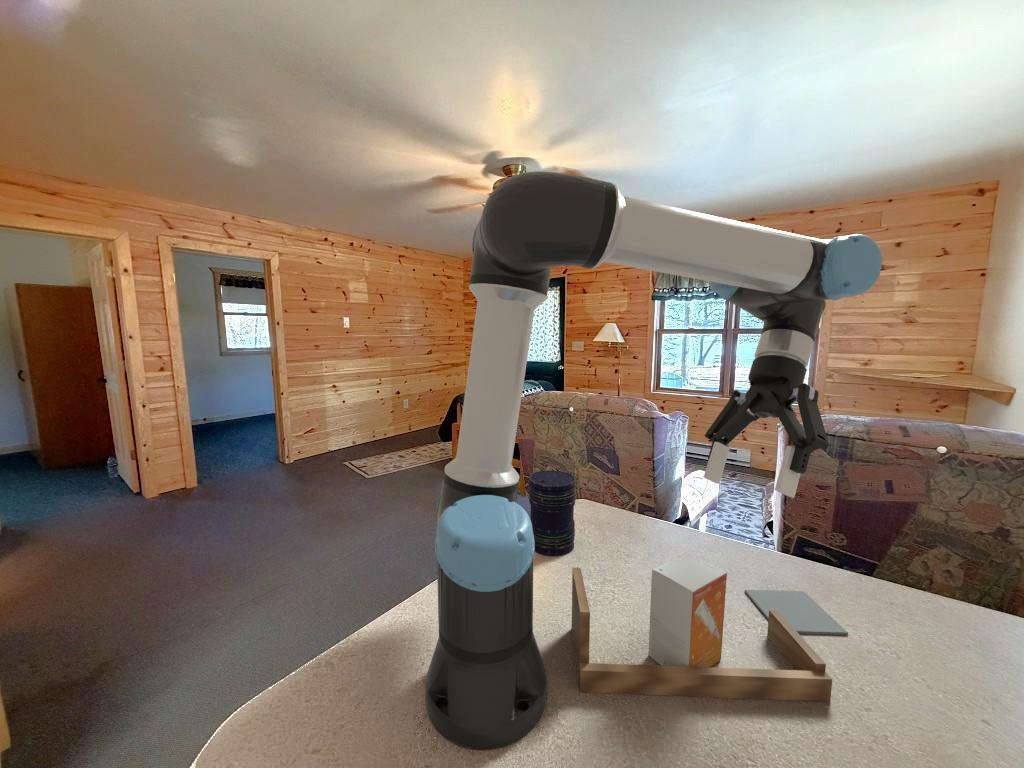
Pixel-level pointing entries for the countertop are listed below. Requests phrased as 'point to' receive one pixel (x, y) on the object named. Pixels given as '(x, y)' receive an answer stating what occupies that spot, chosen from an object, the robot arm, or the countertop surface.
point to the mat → (796, 611)
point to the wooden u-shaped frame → (702, 681)
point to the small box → (687, 612)
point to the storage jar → (552, 512)
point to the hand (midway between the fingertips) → (744, 486)
